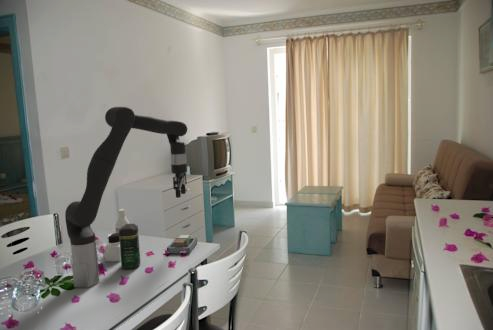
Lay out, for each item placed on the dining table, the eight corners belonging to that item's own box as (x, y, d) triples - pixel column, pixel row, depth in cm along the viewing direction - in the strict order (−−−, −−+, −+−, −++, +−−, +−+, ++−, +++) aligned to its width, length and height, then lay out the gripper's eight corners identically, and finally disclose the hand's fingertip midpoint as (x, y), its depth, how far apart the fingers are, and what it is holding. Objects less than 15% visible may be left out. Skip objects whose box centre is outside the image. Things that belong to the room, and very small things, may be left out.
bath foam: (123, 245, 205) (120, 207, 202) (134, 246, 202) (131, 208, 200) (114, 250, 198) (111, 211, 196) (126, 251, 196) (122, 211, 193)
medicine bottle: (126, 256, 189) (124, 231, 188) (120, 261, 182) (118, 236, 181) (112, 256, 190) (109, 231, 188) (105, 261, 183) (103, 236, 181)
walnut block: (183, 251, 191) (183, 242, 190) (174, 251, 191) (174, 242, 191) (186, 248, 195) (185, 239, 195) (177, 248, 196) (177, 239, 195)
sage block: (187, 246, 197) (187, 237, 197) (179, 246, 198) (178, 237, 197) (190, 243, 202) (189, 235, 201) (181, 243, 202) (181, 235, 202)
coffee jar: (138, 269, 173) (135, 227, 170) (120, 270, 172) (116, 229, 169) (142, 261, 182) (139, 221, 180) (124, 262, 181) (121, 222, 179)
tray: (189, 254, 188) (189, 248, 188) (166, 254, 190) (166, 248, 189) (197, 243, 203) (196, 237, 203) (176, 243, 204) (175, 237, 204)
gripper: (182, 164, 186) (184, 198, 188) (190, 160, 200) (192, 192, 202) (166, 165, 187) (169, 198, 189) (175, 161, 201) (177, 192, 203)
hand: (180, 195), depth 196 cm, fingers open, 8 cm apart
